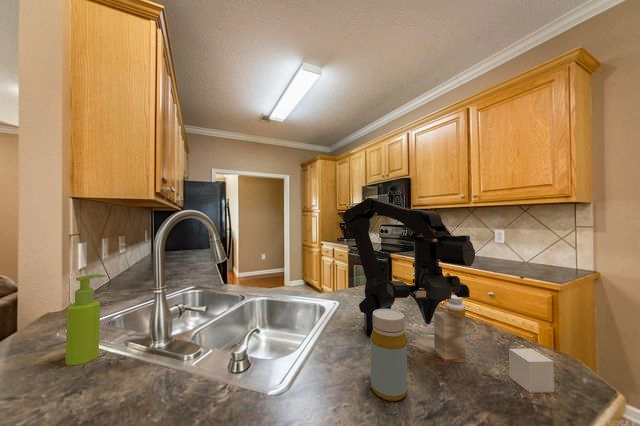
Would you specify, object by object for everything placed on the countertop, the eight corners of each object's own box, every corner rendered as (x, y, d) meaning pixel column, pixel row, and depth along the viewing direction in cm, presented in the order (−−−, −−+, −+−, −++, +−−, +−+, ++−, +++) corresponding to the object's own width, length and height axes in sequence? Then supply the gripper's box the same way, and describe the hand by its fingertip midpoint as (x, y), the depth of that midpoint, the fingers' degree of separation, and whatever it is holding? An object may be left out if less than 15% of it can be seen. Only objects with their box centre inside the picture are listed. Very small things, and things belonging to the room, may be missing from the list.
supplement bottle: (469, 331, 76) (468, 299, 76) (451, 331, 76) (450, 299, 76) (459, 324, 81) (459, 294, 82) (443, 324, 81) (442, 294, 82)
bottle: (407, 383, 52) (406, 310, 52) (407, 406, 45) (406, 323, 46) (373, 376, 54) (372, 306, 55) (368, 397, 48) (368, 318, 48)
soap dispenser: (108, 353, 63) (110, 274, 64) (72, 368, 57) (75, 279, 58) (96, 348, 66) (98, 272, 66) (60, 362, 59) (63, 277, 60)
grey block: (529, 392, 49) (528, 361, 49) (509, 376, 54) (508, 348, 54) (554, 392, 49) (553, 361, 49) (531, 376, 54) (531, 348, 54)
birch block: (444, 361, 60) (444, 319, 60) (434, 351, 65) (434, 312, 65) (465, 361, 60) (464, 319, 60) (453, 350, 65) (452, 311, 65)
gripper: (400, 266, 55) (401, 339, 54) (484, 266, 55) (486, 338, 54) (386, 259, 66) (386, 319, 65) (455, 258, 66) (457, 318, 66)
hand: (427, 323), depth 62 cm, fingers closed
